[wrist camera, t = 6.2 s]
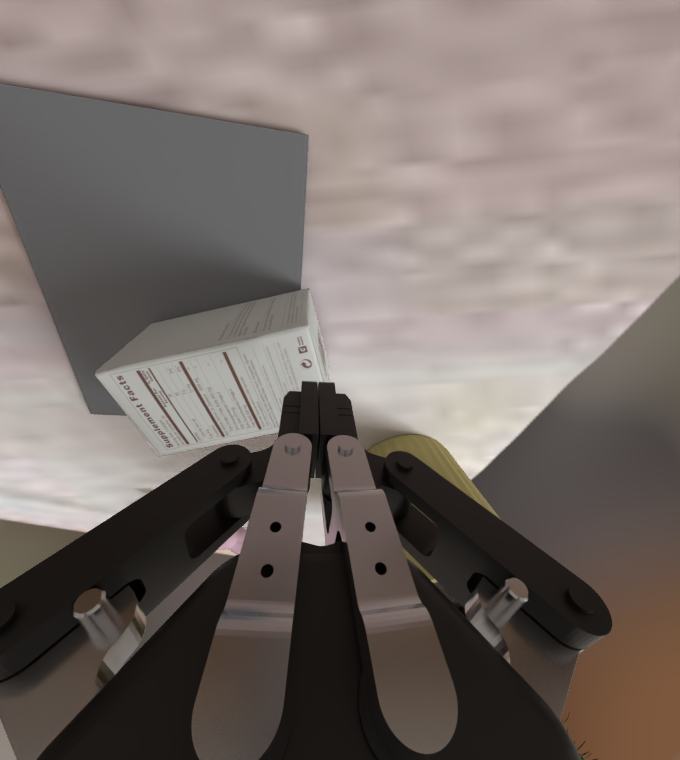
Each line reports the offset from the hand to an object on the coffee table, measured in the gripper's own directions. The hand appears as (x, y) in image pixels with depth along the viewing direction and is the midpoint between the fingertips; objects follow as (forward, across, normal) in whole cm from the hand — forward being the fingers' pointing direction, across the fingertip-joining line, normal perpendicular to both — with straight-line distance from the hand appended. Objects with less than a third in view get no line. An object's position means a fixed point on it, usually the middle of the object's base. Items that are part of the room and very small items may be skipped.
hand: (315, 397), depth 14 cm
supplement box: (+8, -1, +1) cm, 8 cm away
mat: (+12, +10, 0) cm, 16 cm away
